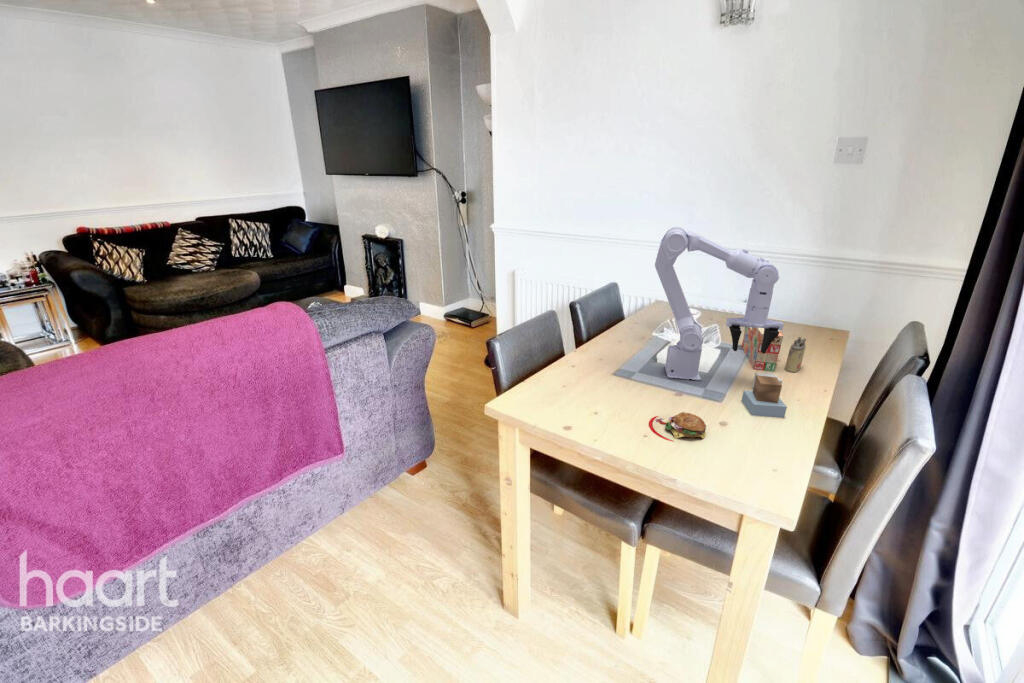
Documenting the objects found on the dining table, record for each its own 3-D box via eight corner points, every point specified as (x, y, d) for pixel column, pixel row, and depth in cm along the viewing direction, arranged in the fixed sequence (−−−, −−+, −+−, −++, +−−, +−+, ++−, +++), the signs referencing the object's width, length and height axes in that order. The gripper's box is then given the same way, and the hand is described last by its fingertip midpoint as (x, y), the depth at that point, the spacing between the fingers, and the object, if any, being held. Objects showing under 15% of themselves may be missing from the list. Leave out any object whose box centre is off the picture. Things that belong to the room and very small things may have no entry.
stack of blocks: (740, 346, 170) (747, 312, 166) (760, 348, 168) (767, 314, 164) (753, 370, 151) (761, 333, 146) (775, 372, 149) (783, 335, 145)
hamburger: (695, 415, 124) (699, 394, 121) (718, 446, 111) (723, 423, 108) (641, 415, 123) (644, 394, 121) (658, 445, 110) (662, 422, 108)
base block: (751, 416, 123) (753, 404, 122) (741, 401, 131) (743, 390, 130) (783, 418, 123) (786, 406, 121) (771, 404, 130) (774, 392, 129)
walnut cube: (756, 400, 124) (760, 383, 122) (752, 392, 129) (756, 375, 127) (777, 403, 123) (782, 385, 121) (772, 394, 128) (776, 377, 126)
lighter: (795, 373, 148) (803, 343, 145) (782, 370, 151) (789, 340, 147) (801, 367, 153) (809, 337, 149) (788, 363, 155) (795, 334, 152)
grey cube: (760, 397, 133) (764, 380, 131) (751, 389, 138) (755, 373, 136) (778, 397, 133) (782, 380, 131) (769, 389, 138) (772, 373, 136)
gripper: (734, 308, 131) (725, 354, 136) (791, 311, 128) (780, 358, 133) (728, 301, 137) (719, 345, 142) (782, 304, 135) (772, 349, 140)
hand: (748, 351), depth 138 cm, fingers open, 7 cm apart
